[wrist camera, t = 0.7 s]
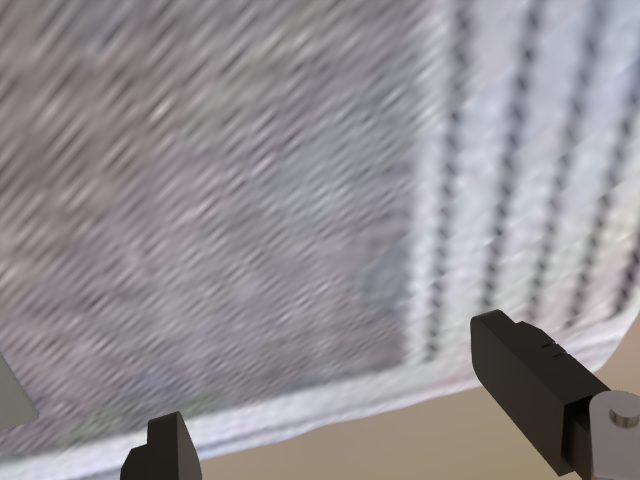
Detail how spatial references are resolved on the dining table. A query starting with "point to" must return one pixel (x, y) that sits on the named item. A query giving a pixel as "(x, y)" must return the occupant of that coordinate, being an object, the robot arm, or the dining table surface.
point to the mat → (13, 400)
